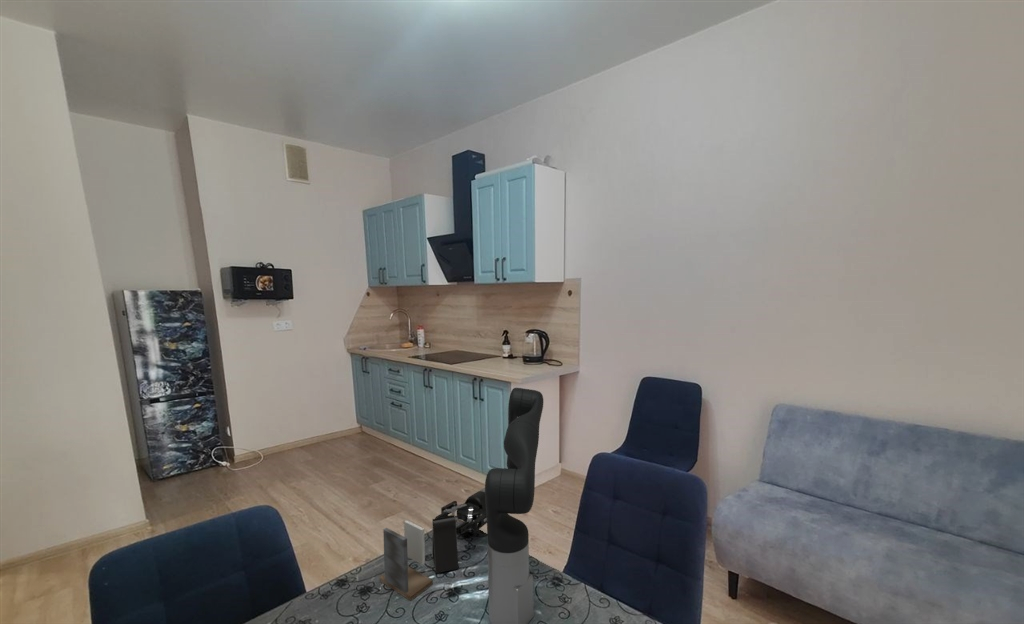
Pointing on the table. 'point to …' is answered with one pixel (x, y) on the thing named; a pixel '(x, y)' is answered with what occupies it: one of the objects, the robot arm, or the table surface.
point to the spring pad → (415, 542)
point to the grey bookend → (401, 568)
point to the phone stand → (444, 544)
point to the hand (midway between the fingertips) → (446, 526)
